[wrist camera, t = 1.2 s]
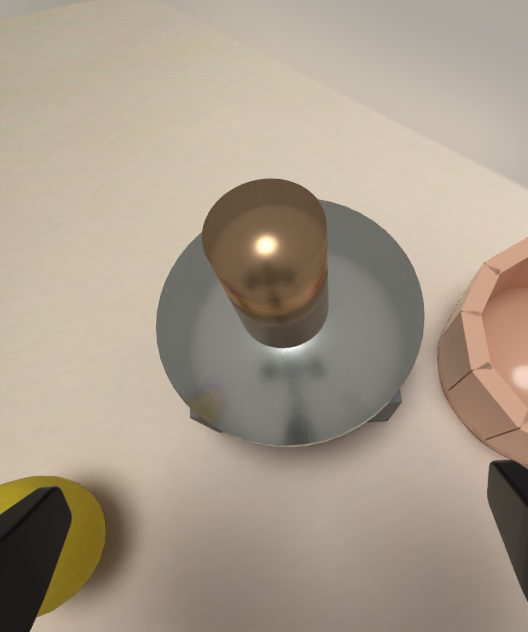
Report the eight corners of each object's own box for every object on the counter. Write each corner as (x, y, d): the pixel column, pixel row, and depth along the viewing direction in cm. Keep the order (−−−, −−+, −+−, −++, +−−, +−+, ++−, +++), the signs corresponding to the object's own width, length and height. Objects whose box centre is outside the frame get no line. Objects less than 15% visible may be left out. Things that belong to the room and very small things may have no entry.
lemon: (109, 458, 23) (5, 443, 16) (149, 556, 21) (50, 593, 13) (21, 514, 22) (-129, 526, 15) (52, 622, 20) (-107, 696, 13)
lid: (481, 353, 17) (565, 276, 11) (230, 504, 16) (167, 512, 10) (326, 171, 22) (324, 46, 16) (128, 280, 21) (44, 194, 15)
